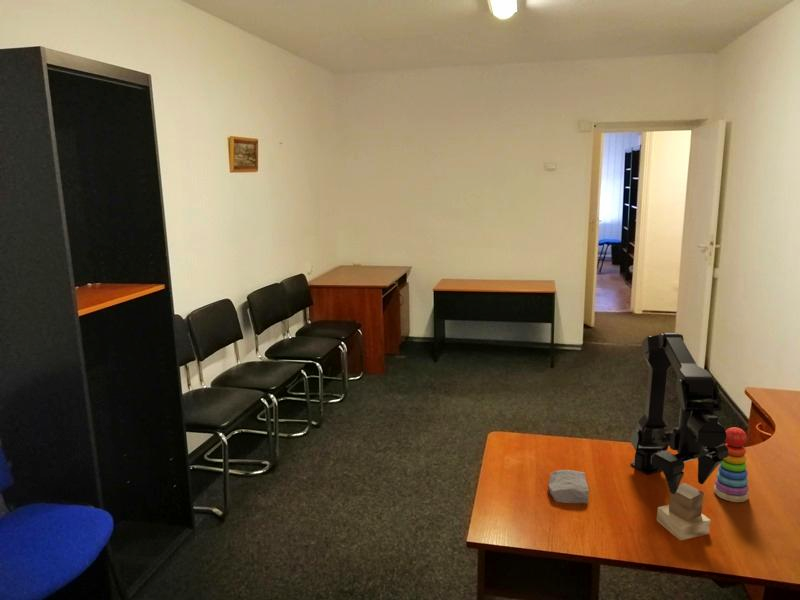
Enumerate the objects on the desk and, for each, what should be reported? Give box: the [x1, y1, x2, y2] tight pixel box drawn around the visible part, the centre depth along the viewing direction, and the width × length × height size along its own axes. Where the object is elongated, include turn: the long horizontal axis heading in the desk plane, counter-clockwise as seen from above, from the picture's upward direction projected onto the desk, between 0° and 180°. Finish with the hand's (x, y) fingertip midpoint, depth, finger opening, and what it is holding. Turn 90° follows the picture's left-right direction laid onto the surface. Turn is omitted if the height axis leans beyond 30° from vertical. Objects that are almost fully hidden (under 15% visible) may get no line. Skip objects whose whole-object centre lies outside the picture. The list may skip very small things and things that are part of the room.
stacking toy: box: [713, 426, 750, 503], centre depth 149 cm, size 8×8×19 cm
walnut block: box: [668, 482, 705, 522], centre depth 138 cm, size 5×5×6 cm
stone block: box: [548, 469, 590, 504], centre depth 156 cm, size 12×5×10 cm
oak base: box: [656, 504, 712, 541], centre depth 139 cm, size 8×8×4 cm
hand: (686, 488), depth 137 cm, fingers open, 9 cm apart
